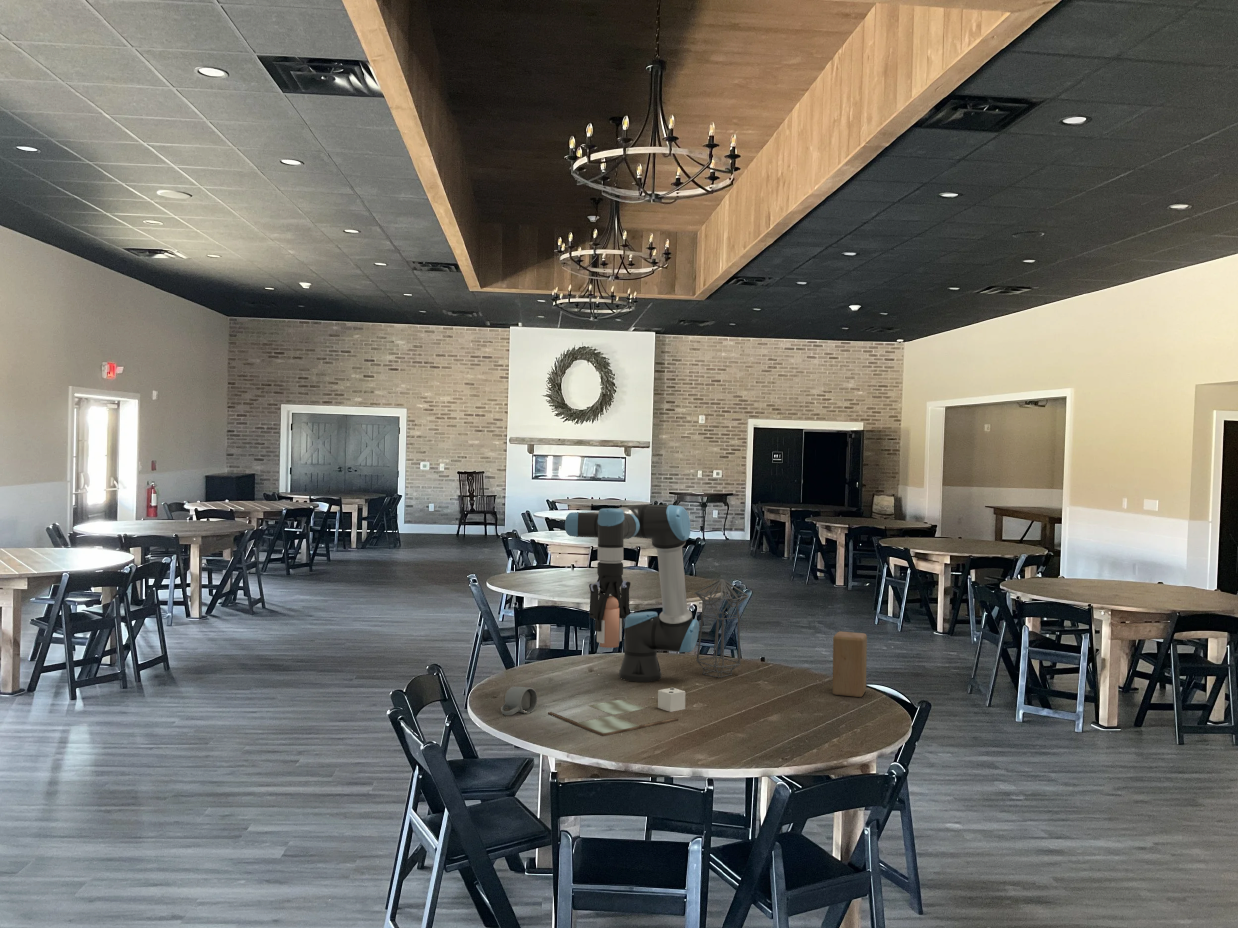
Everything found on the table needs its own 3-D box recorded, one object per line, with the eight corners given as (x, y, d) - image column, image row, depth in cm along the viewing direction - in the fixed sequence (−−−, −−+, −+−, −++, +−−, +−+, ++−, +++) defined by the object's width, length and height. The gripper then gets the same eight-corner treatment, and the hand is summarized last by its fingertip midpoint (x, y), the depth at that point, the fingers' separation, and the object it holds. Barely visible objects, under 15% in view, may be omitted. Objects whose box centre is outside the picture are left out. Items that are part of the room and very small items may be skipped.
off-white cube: (672, 706, 293) (672, 687, 293) (685, 710, 288) (685, 690, 288) (657, 709, 289) (658, 689, 289) (670, 713, 284) (670, 693, 284)
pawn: (611, 643, 274) (611, 593, 274) (622, 646, 269) (623, 596, 269) (595, 645, 270) (596, 595, 270) (607, 648, 266) (608, 597, 266)
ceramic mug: (518, 706, 290) (518, 681, 290) (537, 710, 286) (537, 685, 285) (494, 713, 282) (494, 688, 282) (514, 718, 277) (514, 692, 277)
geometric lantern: (715, 668, 350) (719, 575, 350) (748, 676, 338) (752, 580, 338) (687, 673, 339) (691, 577, 339) (719, 682, 328) (723, 583, 328)
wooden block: (831, 694, 311) (832, 635, 311) (836, 688, 320) (837, 630, 320) (862, 698, 307) (863, 637, 307) (866, 691, 316) (867, 632, 316)
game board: (620, 700, 299) (620, 698, 299) (678, 720, 277) (678, 718, 277) (548, 713, 282) (548, 711, 282) (603, 735, 260) (603, 733, 260)
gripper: (627, 558, 278) (626, 636, 278) (576, 562, 267) (575, 642, 267) (643, 561, 272) (642, 640, 272) (592, 564, 261) (591, 646, 261)
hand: (609, 641), depth 270 cm, fingers closed on pawn, 5 cm apart
